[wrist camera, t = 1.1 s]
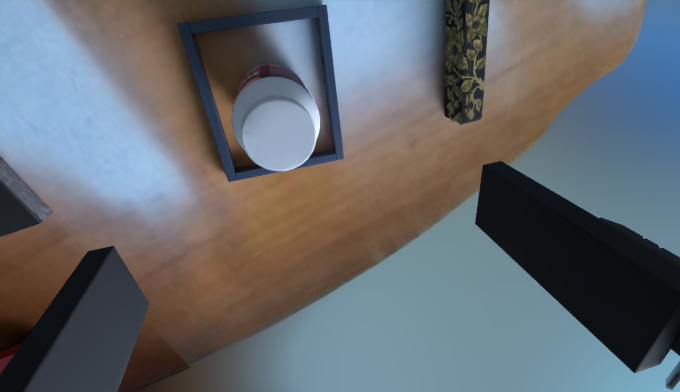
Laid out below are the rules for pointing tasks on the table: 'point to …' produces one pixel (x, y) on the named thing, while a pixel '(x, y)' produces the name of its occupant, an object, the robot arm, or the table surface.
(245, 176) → the dark grey open frame
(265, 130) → the pill bottle
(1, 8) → the table surface
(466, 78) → the decorative block
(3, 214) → the picture frame
